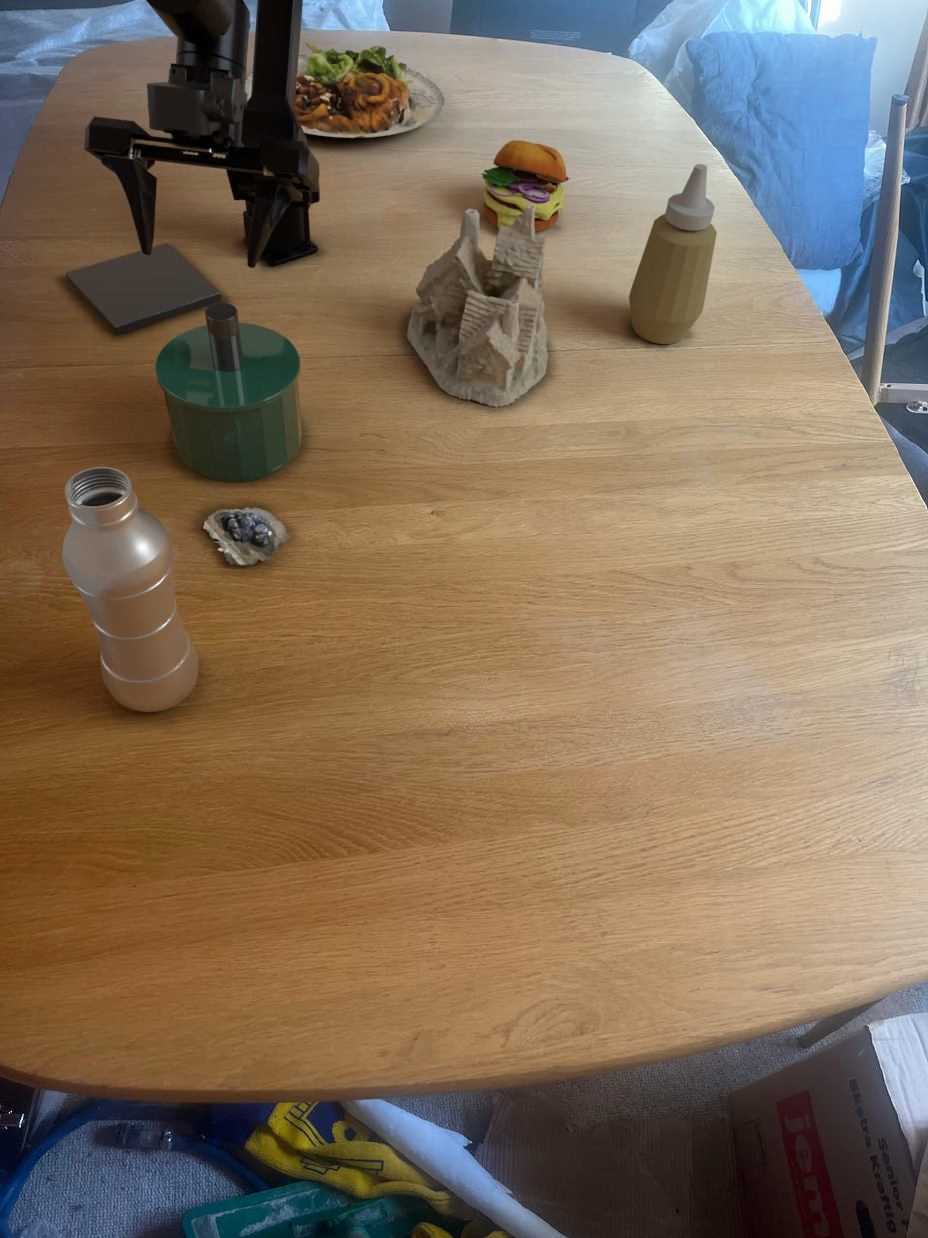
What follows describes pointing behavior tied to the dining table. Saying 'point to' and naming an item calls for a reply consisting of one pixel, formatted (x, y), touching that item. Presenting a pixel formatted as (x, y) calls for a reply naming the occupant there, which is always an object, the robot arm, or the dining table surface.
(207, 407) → the pot lid
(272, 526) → the grey lumpy flat piece
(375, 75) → the plate of food
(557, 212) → the cheeseburger
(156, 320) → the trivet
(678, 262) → the squeeze bottle
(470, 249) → the ceramic cottage
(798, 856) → the dining table surface
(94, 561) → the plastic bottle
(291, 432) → the pot
